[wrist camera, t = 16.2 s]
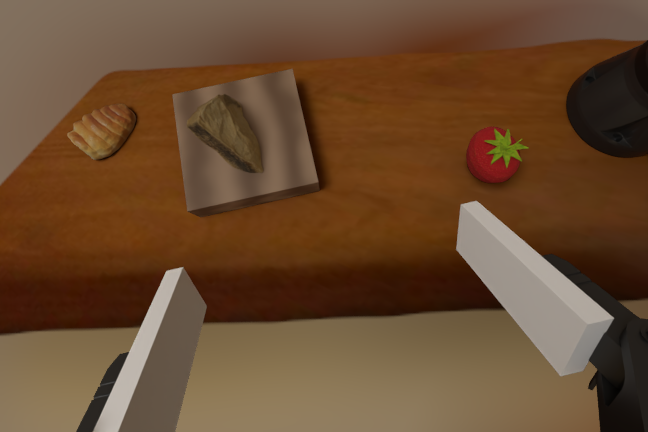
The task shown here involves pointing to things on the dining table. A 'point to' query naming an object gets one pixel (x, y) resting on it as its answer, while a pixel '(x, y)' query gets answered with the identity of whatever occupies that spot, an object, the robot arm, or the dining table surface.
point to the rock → (227, 133)
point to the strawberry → (493, 155)
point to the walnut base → (272, 135)
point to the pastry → (103, 130)
